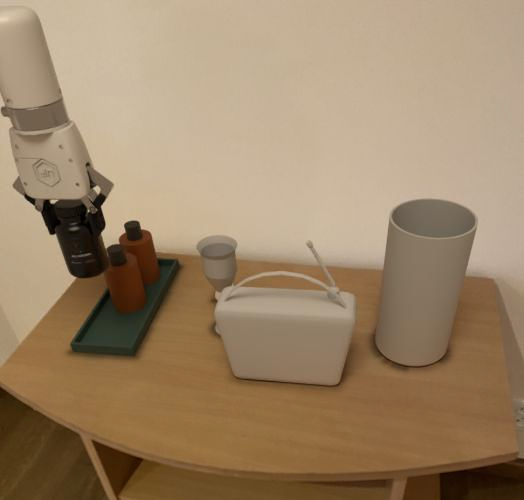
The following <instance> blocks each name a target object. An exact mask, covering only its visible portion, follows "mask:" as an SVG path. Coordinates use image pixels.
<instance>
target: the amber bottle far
mask: <svg viewBox="0 0 524 500" xmlns="http://www.w3.org/2000/svg"><path fill="white" fill-rule="evenodd" d="M123 228H124V231H125V232H124V233H122V234H121V235H120V236H119V238H118V244H121V245H123V247H124V251H125V253H131V254H133V255H134V256H135V257H136V259H137V263H138V266H139V270H140V274H141V278H142V282H143V285H144V286H147V285H151V284H153V283H155V282H157V281H158V280H159V279H160V276H161V274H160V269H159V265H158V261H157V258H158V257H157V252H156V248H155V244H154V240H153V236H152V233H151V232H150V231H149V230H147V229H142V227H141V223H140V221H139V220H135V219H133V220H132V219H131V220H129V221H126V222H125V223H124V224H123Z"/></svg>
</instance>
